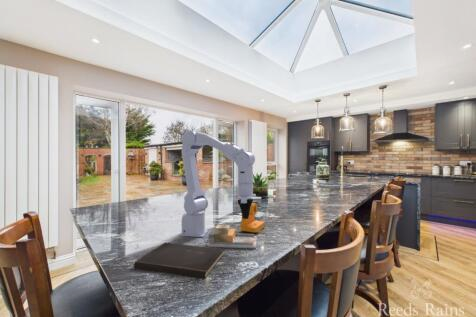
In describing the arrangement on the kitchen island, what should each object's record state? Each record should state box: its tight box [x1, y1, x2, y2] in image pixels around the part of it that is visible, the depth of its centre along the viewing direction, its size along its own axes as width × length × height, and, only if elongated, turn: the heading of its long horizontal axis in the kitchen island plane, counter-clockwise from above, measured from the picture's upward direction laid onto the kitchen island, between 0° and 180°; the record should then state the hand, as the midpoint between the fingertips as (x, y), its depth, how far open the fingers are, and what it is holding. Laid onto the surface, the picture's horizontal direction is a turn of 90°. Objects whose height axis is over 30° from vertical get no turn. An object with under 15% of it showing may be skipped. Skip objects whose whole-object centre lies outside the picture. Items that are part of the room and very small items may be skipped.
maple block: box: [214, 224, 231, 241], centre depth 86 cm, size 5×4×5 cm
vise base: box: [206, 227, 258, 249], centre depth 86 cm, size 18×10×4 cm, turn 83°
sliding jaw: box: [227, 228, 237, 242], centre depth 86 cm, size 2×8×3 cm, turn 173°
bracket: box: [240, 202, 265, 233], centre depth 101 cm, size 11×7×12 cm, turn 151°
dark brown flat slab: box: [133, 242, 225, 280], centre depth 71 cm, size 16×23×2 cm
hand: (245, 218), depth 85 cm, fingers closed
